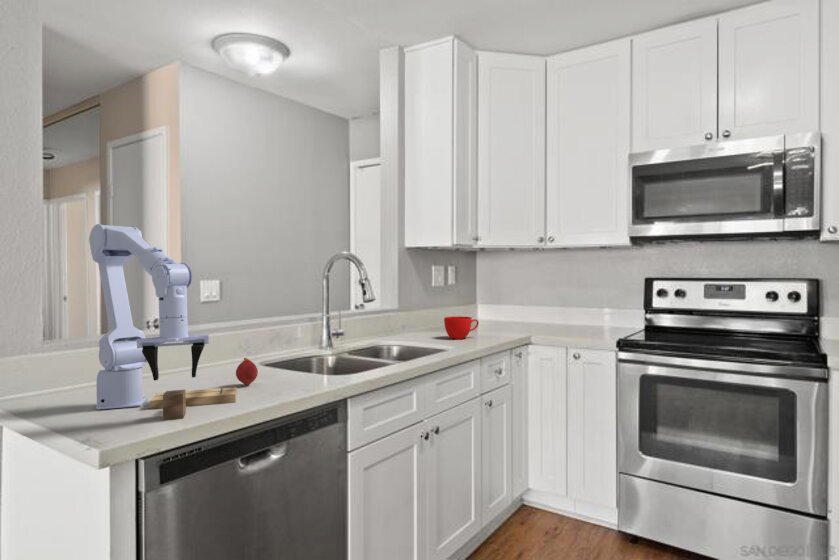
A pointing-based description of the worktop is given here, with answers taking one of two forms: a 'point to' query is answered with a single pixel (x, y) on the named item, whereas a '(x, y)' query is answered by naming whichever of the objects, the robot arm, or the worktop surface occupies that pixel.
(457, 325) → the ceramic cup
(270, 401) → the worktop surface
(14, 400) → the worktop surface
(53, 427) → the worktop surface
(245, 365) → the onion
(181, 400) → the brown wooden block
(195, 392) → the board
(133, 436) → the worktop surface
